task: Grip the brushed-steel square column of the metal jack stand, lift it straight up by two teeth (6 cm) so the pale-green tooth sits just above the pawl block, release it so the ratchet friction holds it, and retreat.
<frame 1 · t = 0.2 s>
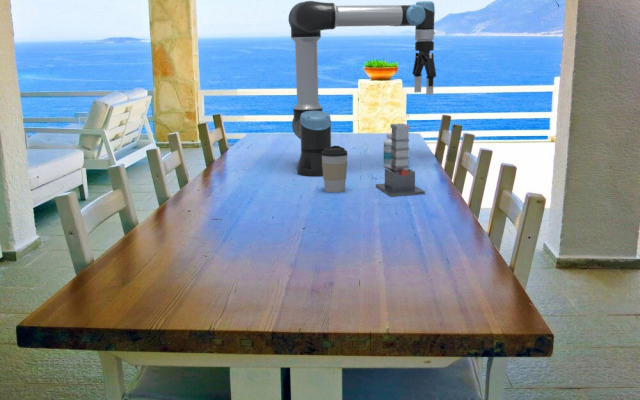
hand: (423, 93, 285), 28 cm above the table, fingers open, 13 cm apart
column: (399, 156, 232), point 12 cm above the table, slide at 0.0 cm
stand: (399, 190, 234), on the table
coffee cup: (334, 190, 237), on the table
pill bottle: (392, 167, 277), on the table
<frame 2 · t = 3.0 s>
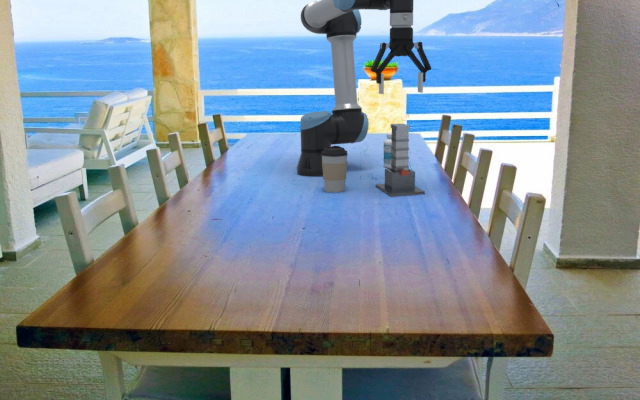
hand: (400, 93, 227), 33 cm above the table, fingers open, 13 cm apart
nothing on the table moved.
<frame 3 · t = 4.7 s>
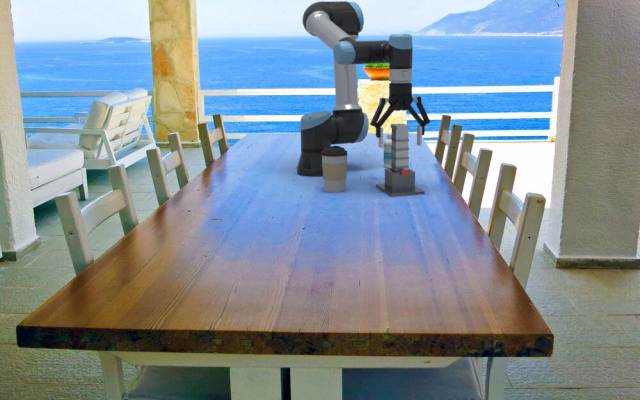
hand: (400, 146, 231), 15 cm above the table, fingers open, 13 cm apart
nothing on the table moved.
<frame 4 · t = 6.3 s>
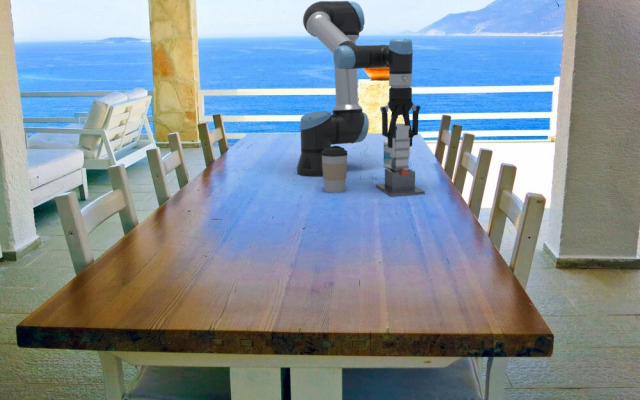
hand: (399, 156, 232), 12 cm above the table, fingers closed on column, 4 cm apart
column: (399, 156, 232), point 12 cm above the table, slide at 0.0 cm, touching gripper
everything else where it was.
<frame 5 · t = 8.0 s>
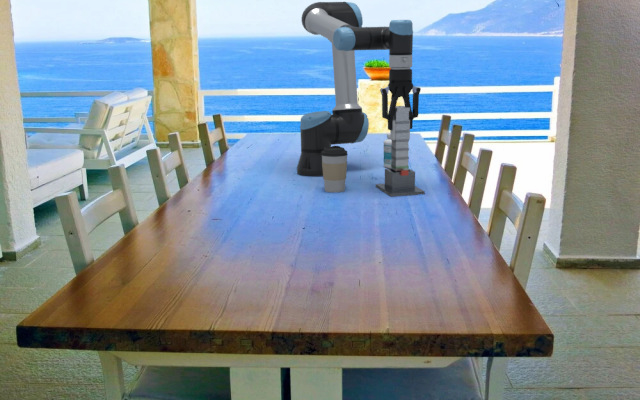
hand: (400, 139, 230), 18 cm above the table, fingers closed on column, 4 cm apart
column: (400, 138, 230), point 18 cm above the table, slide at 6.0 cm, touching gripper
everything else where it was.
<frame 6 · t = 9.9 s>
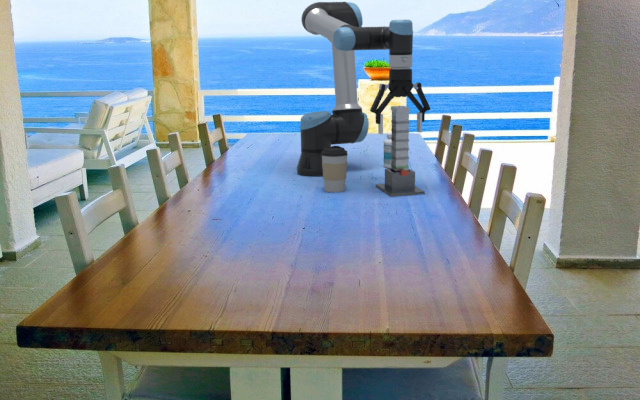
hand: (400, 133, 230), 20 cm above the table, fingers open, 13 cm apart
column: (400, 138, 230), point 18 cm above the table, slide at 6.0 cm
everything else where it was.
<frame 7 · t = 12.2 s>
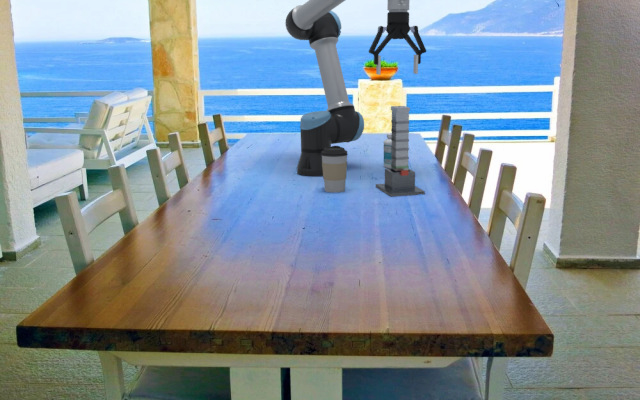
hand: (397, 74, 242), 38 cm above the table, fingers open, 13 cm apart
nothing on the table moved.
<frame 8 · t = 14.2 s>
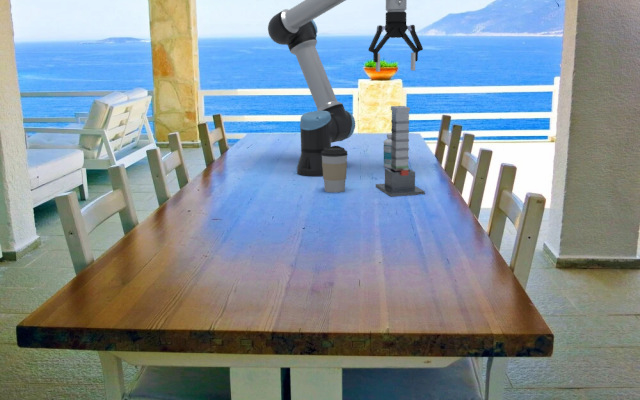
hand: (395, 71, 254), 39 cm above the table, fingers open, 13 cm apart
nothing on the table moved.
at the end: column slide at 6.0 cm; the gripper is holding nothing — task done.
